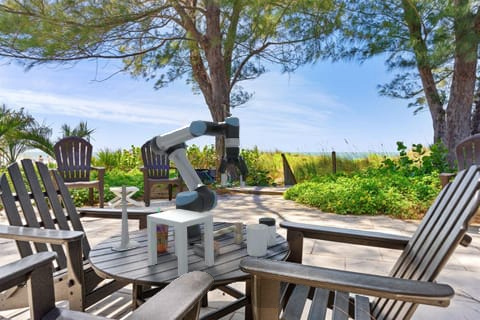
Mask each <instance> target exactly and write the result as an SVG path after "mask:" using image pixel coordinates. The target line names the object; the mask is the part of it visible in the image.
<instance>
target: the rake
mask: <svg viewBox="0 0 480 320" xmlns="http://www.w3.org/2000/svg"><path fill="white" fill-rule="evenodd" d="M231 232H233V243H234V244H237V245H240V244H241V243H243V242H244V222H243V221H236V222H235V221H234V222H233V225H230V226H227V227H224V228H221V229H218V230H213V238H216V237H220V236H222V235H225V234H227V233H231ZM193 254H194V255H197V256H201V257H204V258H205V242H204V234H202V235H201V244H200V243H193ZM217 255H218V254H217V251H216V248H214V260H215V259H217V258H218V257H217Z"/></svg>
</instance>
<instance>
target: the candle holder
mask: <svg viewBox="0 0 480 320" xmlns="http://www.w3.org/2000/svg"><path fill="white" fill-rule="evenodd" d="M267 234H268V226H267V225H265V224H259V223H249V224H247V225H245V235H246V238H245V239H246V247H247V248H246V249H247V250H246V251H247V255H249V256H251V257H255V258H258V257H264V256H266V255H267V251H268V246H267Z"/></svg>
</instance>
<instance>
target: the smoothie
mask: <svg viewBox="0 0 480 320" xmlns="http://www.w3.org/2000/svg"><path fill="white" fill-rule="evenodd" d="M157 209H158V211H157V213H161V210H160V209H161V207H158V208H157ZM169 226H170V225H165V224H161V223H157V222H156V237H157V254H163V253H162V252H164V253H166V252H167V250H168V247H169V245H168V244H169ZM165 251H166V252H165Z"/></svg>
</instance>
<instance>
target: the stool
mask: <svg viewBox="0 0 480 320" xmlns="http://www.w3.org/2000/svg"><path fill="white" fill-rule="evenodd" d="M156 222H157V223H161V224H165V225H169V226H171V227H174V229H173V231H175V238H174V256H175V257H177V277H178V276H181V275H183V274H185V273H187V272H188V273H189V268H188V267H189V265H188V262H189V261H188V259H189V258H188V239H187V227H188V226H191V225H195V224H199V225H200V224H202V223H203V226H204V227H203V235H204V242H205V257H204V265H205V267H206V266H207V267H212V266H215V259H214V243H213V241H214V237H213V232H214V214H211V213H206V212H202V213H200V212H194V211H188V210H182V209H176V208H175V209H172V210H167V211H162V212H161V211H160V213H158V212H157V213H151V214H147V215H146V229H147V231H146V232H147V233H146V234H147V265H148V264H150V265H154V264H157V265H158V253H157V237H156Z"/></svg>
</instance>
